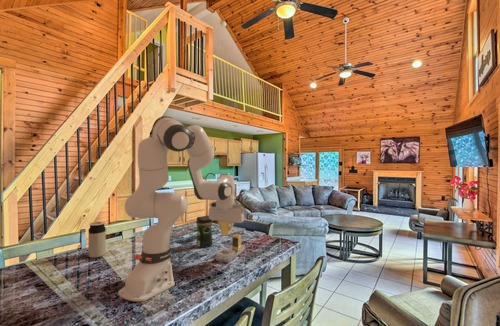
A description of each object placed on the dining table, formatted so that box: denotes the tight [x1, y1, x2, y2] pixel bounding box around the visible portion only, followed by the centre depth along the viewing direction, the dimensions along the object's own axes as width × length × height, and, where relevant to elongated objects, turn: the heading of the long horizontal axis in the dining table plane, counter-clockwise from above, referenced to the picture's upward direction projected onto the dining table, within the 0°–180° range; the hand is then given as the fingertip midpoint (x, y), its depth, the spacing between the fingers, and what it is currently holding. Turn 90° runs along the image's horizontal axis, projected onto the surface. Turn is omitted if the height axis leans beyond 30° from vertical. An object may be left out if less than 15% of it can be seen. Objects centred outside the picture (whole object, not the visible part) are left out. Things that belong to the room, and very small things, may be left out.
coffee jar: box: [195, 215, 213, 249], centre depth 152 cm, size 10×8×19 cm
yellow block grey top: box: [220, 221, 232, 236], centre depth 132 cm, size 4×4×7 cm
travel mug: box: [88, 220, 107, 259], centre depth 135 cm, size 8×8×18 cm
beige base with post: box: [215, 233, 246, 264], centre depth 138 cm, size 22×8×9 cm, turn 158°
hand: (225, 229), depth 132 cm, fingers closed on yellow block grey top, 4 cm apart
